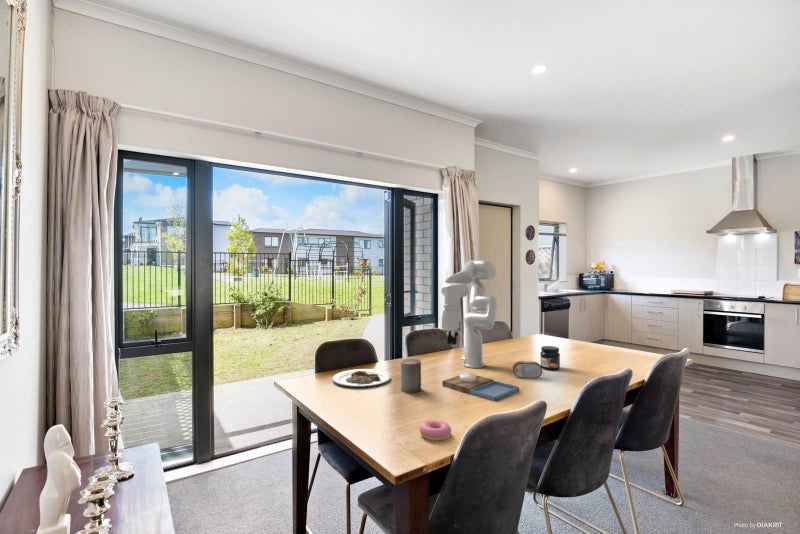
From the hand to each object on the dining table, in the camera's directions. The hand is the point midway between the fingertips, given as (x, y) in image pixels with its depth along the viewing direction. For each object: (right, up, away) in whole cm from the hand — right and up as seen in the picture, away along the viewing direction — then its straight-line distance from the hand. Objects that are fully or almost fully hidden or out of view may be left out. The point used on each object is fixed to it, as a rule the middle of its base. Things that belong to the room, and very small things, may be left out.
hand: (452, 343), depth 199 cm
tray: (+17, -19, -18) cm, 32 cm away
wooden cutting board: (+7, -19, -7) cm, 22 cm away
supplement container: (+59, -19, +23) cm, 67 cm away
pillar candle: (-22, -20, -14) cm, 32 cm away
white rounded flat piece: (+7, -15, -7) cm, 18 cm away
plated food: (-47, -20, +3) cm, 51 cm away
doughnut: (-14, -20, -63) cm, 68 cm away
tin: (+40, -19, +5) cm, 45 cm away
